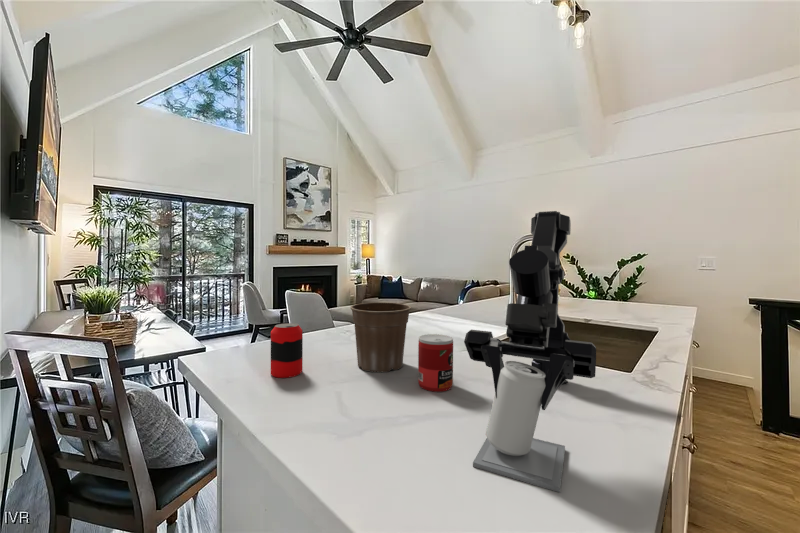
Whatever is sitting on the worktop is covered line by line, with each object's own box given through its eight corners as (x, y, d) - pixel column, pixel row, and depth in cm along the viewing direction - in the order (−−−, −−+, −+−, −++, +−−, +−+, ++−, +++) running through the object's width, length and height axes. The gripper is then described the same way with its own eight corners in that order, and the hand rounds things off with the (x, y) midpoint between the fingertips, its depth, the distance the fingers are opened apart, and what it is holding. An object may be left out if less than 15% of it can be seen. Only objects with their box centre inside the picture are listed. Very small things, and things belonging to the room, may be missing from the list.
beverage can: (537, 462, 48) (558, 381, 47) (493, 456, 47) (514, 373, 46) (516, 435, 55) (535, 363, 54) (478, 429, 54) (496, 356, 53)
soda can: (276, 380, 81) (276, 329, 81) (266, 372, 87) (266, 324, 87) (307, 374, 86) (307, 326, 86) (295, 366, 92) (295, 321, 92)
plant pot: (411, 376, 85) (411, 310, 85) (345, 375, 85) (345, 310, 85) (409, 357, 101) (410, 302, 101) (354, 356, 101) (355, 302, 101)
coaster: (492, 431, 58) (492, 427, 58) (565, 449, 52) (565, 445, 52) (472, 466, 48) (472, 461, 48) (559, 492, 43) (560, 486, 43)
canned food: (444, 395, 73) (444, 343, 73) (411, 387, 78) (412, 338, 77) (458, 384, 80) (458, 336, 80) (427, 377, 84) (427, 332, 84)
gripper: (468, 281, 58) (443, 364, 48) (597, 286, 49) (597, 389, 39) (480, 321, 65) (460, 400, 55) (595, 332, 56) (595, 428, 46)
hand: (519, 404), depth 49 cm, fingers closed on beverage can, 6 cm apart
